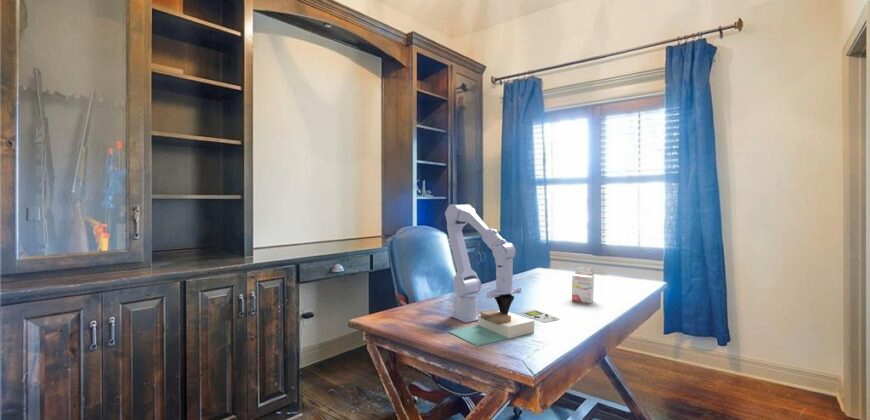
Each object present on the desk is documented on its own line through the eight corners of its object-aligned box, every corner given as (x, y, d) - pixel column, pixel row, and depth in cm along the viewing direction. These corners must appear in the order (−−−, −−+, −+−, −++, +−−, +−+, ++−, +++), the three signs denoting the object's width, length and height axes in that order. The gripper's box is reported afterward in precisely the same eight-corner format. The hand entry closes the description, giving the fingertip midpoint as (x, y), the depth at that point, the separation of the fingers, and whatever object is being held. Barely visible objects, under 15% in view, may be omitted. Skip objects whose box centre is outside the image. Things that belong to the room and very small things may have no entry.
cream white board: (478, 325, 149) (478, 314, 149) (503, 320, 156) (503, 309, 156) (508, 338, 136) (508, 326, 136) (534, 332, 142) (534, 320, 142)
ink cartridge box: (571, 300, 185) (571, 268, 185) (574, 298, 190) (574, 266, 189) (591, 303, 181) (591, 270, 180) (593, 301, 185) (594, 268, 185)
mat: (448, 332, 143) (448, 331, 142) (478, 325, 149) (478, 324, 149) (477, 346, 129) (477, 345, 129) (508, 338, 136) (508, 337, 136)
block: (480, 318, 145) (480, 312, 145) (493, 315, 149) (493, 309, 149) (497, 324, 138) (497, 318, 138) (510, 321, 141) (510, 315, 141)
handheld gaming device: (543, 321, 153) (517, 311, 166) (543, 323, 153) (517, 313, 166) (561, 318, 157) (534, 308, 171) (561, 320, 157) (534, 310, 171)
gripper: (496, 281, 138) (495, 322, 138) (527, 277, 145) (527, 315, 146) (482, 278, 144) (482, 316, 144) (513, 274, 151) (513, 310, 152)
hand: (504, 315), depth 145 cm, fingers closed
